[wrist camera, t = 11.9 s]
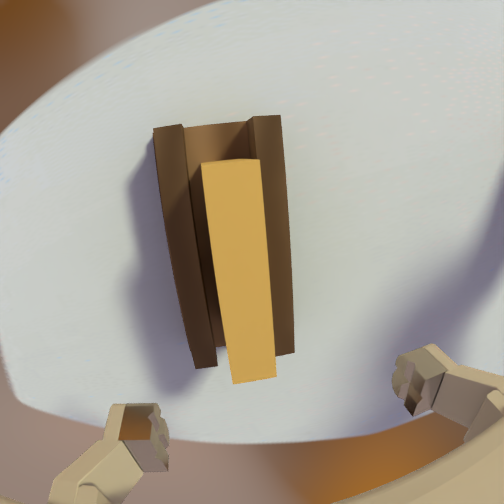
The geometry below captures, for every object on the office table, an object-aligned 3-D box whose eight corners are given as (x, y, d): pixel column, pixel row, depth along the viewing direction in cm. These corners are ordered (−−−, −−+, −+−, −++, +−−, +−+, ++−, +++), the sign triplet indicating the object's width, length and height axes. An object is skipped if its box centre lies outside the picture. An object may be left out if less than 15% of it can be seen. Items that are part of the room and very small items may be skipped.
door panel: (238, 158, 24) (259, 159, 15) (254, 314, 28) (276, 376, 20) (200, 162, 23) (201, 166, 15) (222, 319, 28) (233, 384, 19)
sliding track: (274, 120, 24) (287, 114, 20) (288, 329, 31) (299, 351, 27) (154, 133, 23) (146, 129, 19) (190, 344, 29) (190, 369, 25)
